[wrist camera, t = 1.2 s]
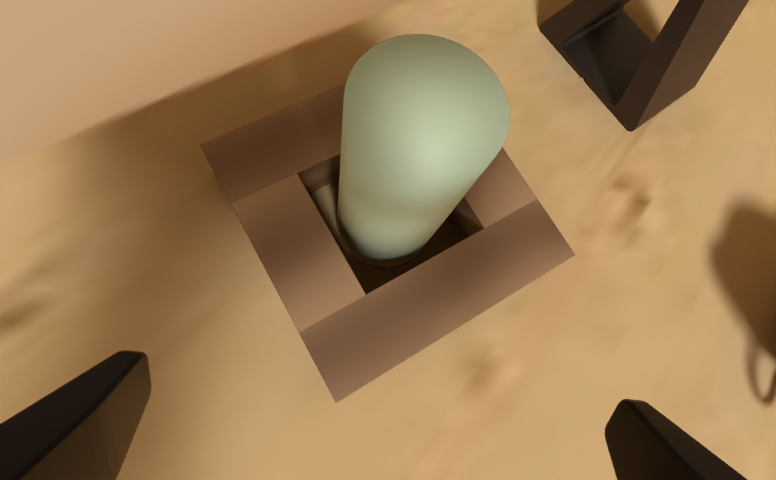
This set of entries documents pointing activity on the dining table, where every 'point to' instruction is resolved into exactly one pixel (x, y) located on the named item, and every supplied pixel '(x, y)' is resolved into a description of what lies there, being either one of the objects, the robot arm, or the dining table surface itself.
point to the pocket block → (331, 270)
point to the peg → (413, 142)
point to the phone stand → (640, 52)
